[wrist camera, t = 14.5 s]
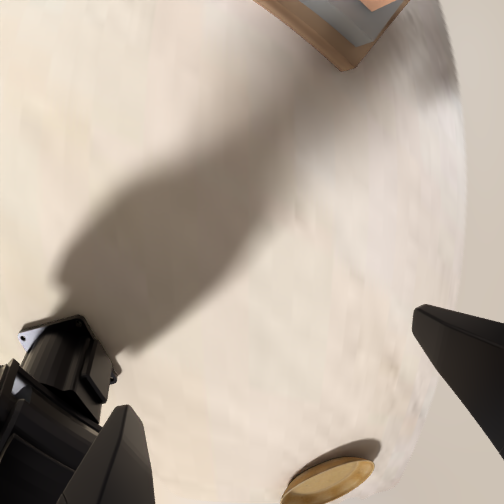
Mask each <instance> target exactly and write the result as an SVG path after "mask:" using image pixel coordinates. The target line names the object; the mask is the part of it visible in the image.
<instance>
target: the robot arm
mask: <svg viewBox="0 0 504 504" xmlns="http://www.w3.org/2000/svg"><path fill="white" fill-rule="evenodd" d="M77 321H80V322H81V324H79V323H77ZM412 332H413V335H414V336H415V338H416V339H417V341H418V342H419V344H420V345H421V347H422V348H423V350H424V352H425V353H426V355H427V356H428V358H429V359H430V361H431V362H432V364H433V365H434V367H435V368H436V370H437V371H438V372H439V374H440V375H441V376H442V377H443V379H444V380H445V381H446V382H447V384H448V385H449V386H450V387H451V388H452V390H453V391H454V392H455V394H456V395H457V396H458V398H459V399H460V400H461V402H462V403H463V404H464V405H465V407H466V408H467V409H468V411H469V412H470V413H471V415H472V416H473V417H474V419H475V420H476V421H477V423H478V424H479V425H480V427H481V428H482V430H483V431H484V432H485V434H486V435H487V436H488V438H489V439H490V441H491V442H492V443H493V445H494V446H495V448H496V449H497V450H498V452H499V454H500V455H501V456H502V458H503V459H504V323H500V322H496V321H492V320H488V319H484V318H479V317H476V316H472V315H468V314H464V313H460V312H456V311H452V310H448V309H444V308H440V307H436V306H432V305H428V304H423V305H421V306H419V307H417V308H416V309H415V310H414V313H413V322H412ZM23 336H24V337H25V338H24V337H23ZM18 339H19V341H20V342H21V344H22V346H23V347H24V349H25V351H26V352H27V353H26V355H25V357H24V359H23V361H22V363H21V365H20V364H19V363H18V362H17V361H16V360H15V359H14V358H13V359H12V360H11V361H10V362H9V363H8V364H6V365H2V366H1V365H0V504H155V497H154V488H153V477H152V469H151V463H150V459H149V453H148V448H147V443H146V437H145V431H144V426H143V423H142V421H141V420H140V418H139V417H138V416H137V414H136V413H135V411H134V410H133V409H132V407H131V406H130V405H122V406H117V407H116V408H115V409H114V410H113V412H112V413H111V415H110V417H109V418H108V420H107V421H106V423H105V424H104V426H103V427H101V426H100V425H98V424H99V421H100V413H101V406H102V404H104V403H106V401H107V398H108V391H109V385H110V384H114V383H116V382H117V374H116V373H115V371H114V370H113V368H112V363H111V361H110V359H109V358H108V356H107V354H106V352H105V351H104V349H103V347H102V345H101V344H100V342H99V340H97V339H96V338H95V337H94V335H93V333H92V331H91V329H90V327H89V326H88V324H87V322H86V320H85V318H84V317H83V316H81V315H75V316H72V317H68V318H65V319H61V320H57V321H54V322H50V323H47V324H43V325H39V326H36V327H32V328H28V329H24V330H21V331H20V332H19V334H18ZM19 365H20V366H19ZM111 377H112V378H111Z"/></svg>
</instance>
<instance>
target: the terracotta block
mask: <svg viewBox="0 0 504 504" xmlns="http://www.w3.org/2000/svg"><path fill="white" fill-rule="evenodd" d="M360 1H361V2H362V3H363V4H364V5H365V6H366V7H367V8H368V9H369V10H370V11H371V12H373V11H375V10H377V9H379V8H381V7H383V6H385V5H387V4H389V3H391V2H394V1H396V0H360Z"/></svg>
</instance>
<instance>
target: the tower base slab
mask: <svg viewBox="0 0 504 504" xmlns="http://www.w3.org/2000/svg"><path fill="white" fill-rule="evenodd" d="M253 1H255V2H256V3H258V4H259V5H260V6H262V7H263V8H265V9H266V10H267V11H269V12H270V13H272V14H273V15H274V16H276V17H277V18H278V19H280V20H281V21H282V22H284V23H285V24H286V25H287V26H289V27H290V28H291V29H292V30H294V31H295V32H296V33H297V34H299V35H300V36H301V37H302V38H304V39H305V40H306V41H307V42H308V43H310V44H311V45H312V46H313V47H314V48H315V49H317V50H318V51H319V52H320V53H321V54H322V55H323V56H325V57H326V58H327V59H328V60H329V61H330V62H331V63H332V64H333V65H334V66H336V67H337V68H338V69H339V70H340V71H341V72H343V71H346V70H350V69H354V68H356V67H357V65H358V64H359V63H360V61H361V60H362V59H363V58H364V56H365V55H366V54H367V53H368V51H369V50H370V49H371V48H372V46H373V45H374V44H375V43H376V41H377V40H378V39H379V38H380V36H381V35H382V34H383V33H384V31H385V30H386V29H387V28H388V27H389V25H390V24H391V23H392V22H393V20H394V19H395V18H396V17H397V15H398V14H399V13H400V12H401V11H402V9H403V8H404V7H405V6H406V5H407V3H408V2H409V1H410V0H404V1H403V2H402V3H401V5H400V6H399V7H398V9H397V10H396V12H395V13H394V14H393V16H392V17H391V18H390V20H389V21H388V22H387V24H386V25H385V26H384V28H383V29H382V30H381V32H380V33H379V34H378V36H377V37H376V39H375V40H374V41H373V42H370V43H367V44H364V45H361V46H358V47H355V46H354V45H353V44H352V43H350V42H349V41H348V40H347V39H346V38H345V37H344V36H343V35H341V34H340V33H339V32H338V31H337V30H336V29H334V28H333V27H332V26H331V25H330V24H329V23H327V22H326V21H325V20H324V19H322V18H321V17H320V16H319V15H317V14H316V13H315V12H314V11H312V10H311V9H310V8H308V7H307V6H306V5H304V4H303V3H302V2H300V1H299V0H253Z"/></svg>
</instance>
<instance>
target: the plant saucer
mask: <svg viewBox="0 0 504 504" xmlns="http://www.w3.org/2000/svg"><path fill="white" fill-rule="evenodd" d="M374 467H375V465H374V463H373V462H372V461H369V460H366V459H362V458H357V457H340V458H336V459H332V460H329V461H326V462H323V463H321V464H318V465H316V466H314V467H312V468H310V469H308V470H306V471H305V472H303V473H301V474H300V475H299V476H297V477H296V478H295V479H294V480H293V481H292V482H291V483H290V484H289V486H288V487H287V489H286V490H285V492H284V494H283V496H282V498H281V501H280V504H325V503H328V502H330V501H333V500H335V499H337V498H339V497H341V496H343V495H345V494H347V493H349V492H350V491H352V490H353V489H355V488H356V487H358V486H359V485H360V484H361V483H363V482H364V481H365V480H366V479H367V478H368V477H369V476H370V475H371V473H372V472H373V470H374Z"/></svg>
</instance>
